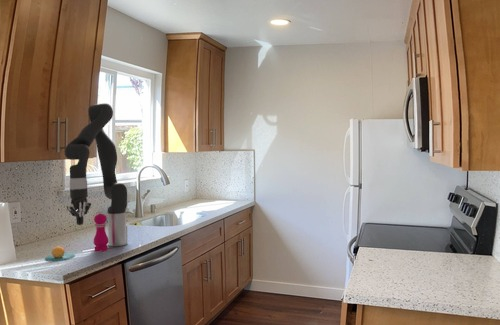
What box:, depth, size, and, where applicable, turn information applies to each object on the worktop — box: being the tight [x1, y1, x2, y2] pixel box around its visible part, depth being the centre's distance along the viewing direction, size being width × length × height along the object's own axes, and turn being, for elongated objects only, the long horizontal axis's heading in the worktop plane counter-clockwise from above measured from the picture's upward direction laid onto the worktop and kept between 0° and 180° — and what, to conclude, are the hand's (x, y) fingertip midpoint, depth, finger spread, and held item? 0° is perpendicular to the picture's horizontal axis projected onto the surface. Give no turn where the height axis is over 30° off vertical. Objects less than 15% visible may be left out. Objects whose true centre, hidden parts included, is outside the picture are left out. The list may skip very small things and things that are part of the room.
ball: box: [51, 245, 65, 258], centre depth 195 cm, size 6×6×6 cm
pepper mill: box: [92, 210, 109, 252], centre depth 209 cm, size 7×7×20 cm
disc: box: [44, 252, 75, 262], centre depth 197 cm, size 13×13×1 cm
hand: (80, 224), depth 191 cm, fingers closed
